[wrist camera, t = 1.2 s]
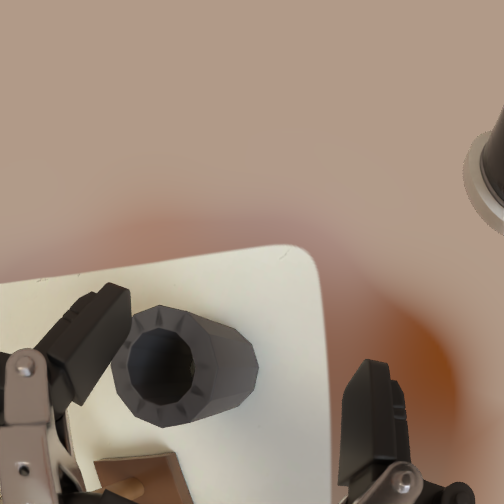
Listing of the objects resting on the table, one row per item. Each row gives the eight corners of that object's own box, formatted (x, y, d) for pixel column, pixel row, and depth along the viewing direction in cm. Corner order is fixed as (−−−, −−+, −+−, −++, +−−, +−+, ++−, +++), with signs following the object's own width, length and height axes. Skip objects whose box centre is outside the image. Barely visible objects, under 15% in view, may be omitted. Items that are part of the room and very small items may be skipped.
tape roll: (213, 308, 24) (159, 282, 17) (275, 365, 22) (243, 366, 14) (162, 368, 24) (95, 363, 16) (217, 427, 21) (162, 449, 14)
